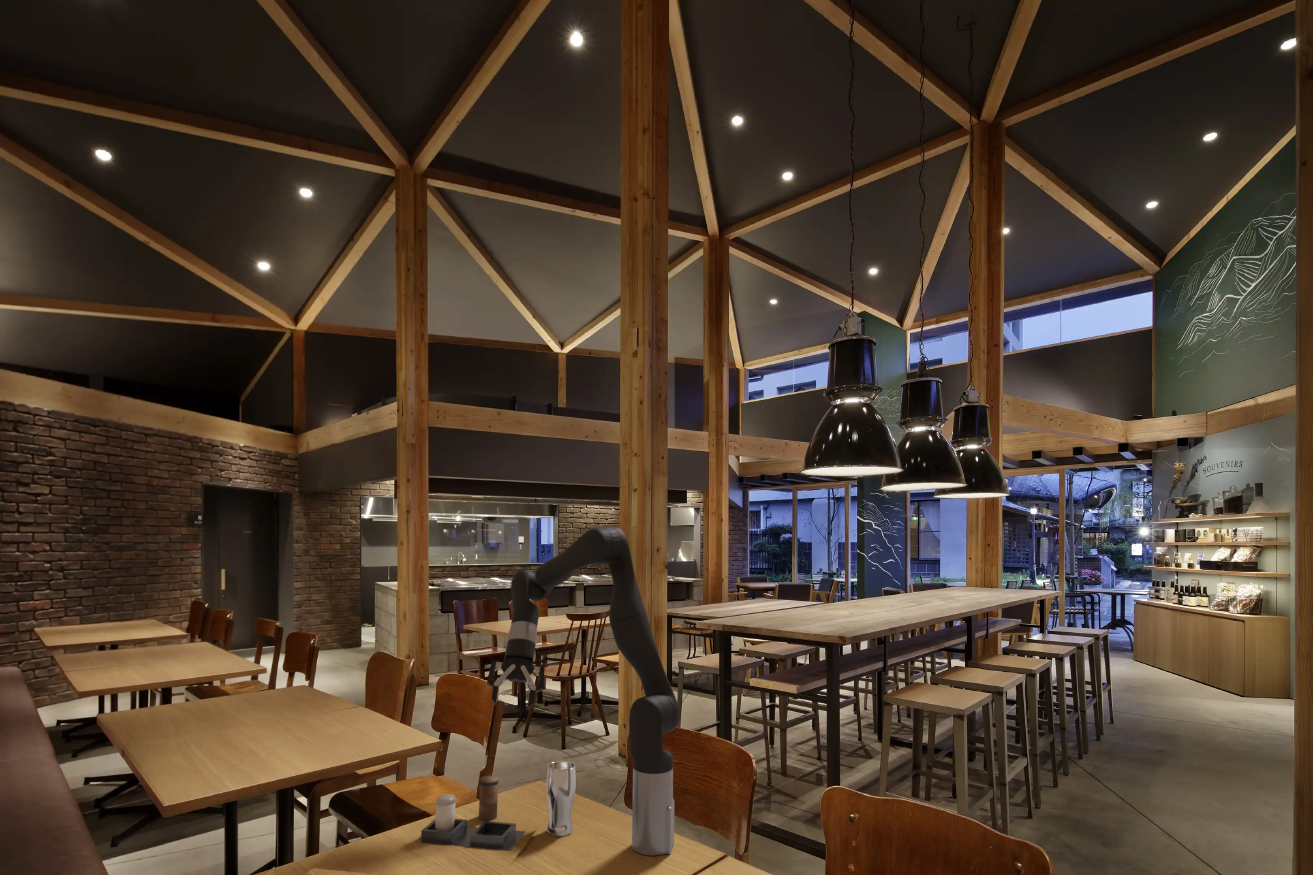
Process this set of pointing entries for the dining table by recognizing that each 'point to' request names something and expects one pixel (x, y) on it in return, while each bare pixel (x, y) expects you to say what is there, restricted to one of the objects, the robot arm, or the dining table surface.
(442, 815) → the salt shaker
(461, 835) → the condiment caddy
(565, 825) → the beer glass
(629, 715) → the robot arm
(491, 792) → the brown wooden cylinder
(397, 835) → the dining table surface
